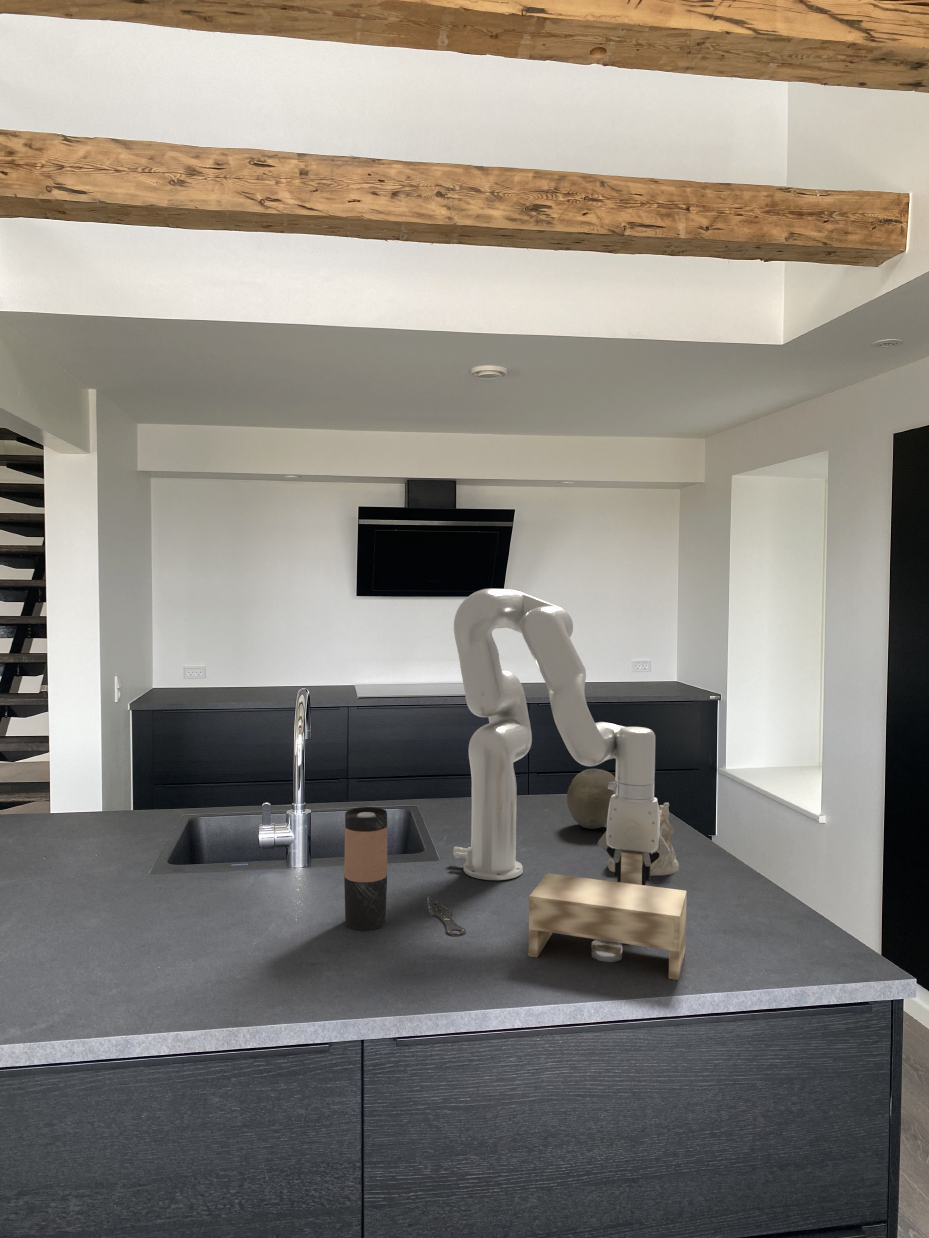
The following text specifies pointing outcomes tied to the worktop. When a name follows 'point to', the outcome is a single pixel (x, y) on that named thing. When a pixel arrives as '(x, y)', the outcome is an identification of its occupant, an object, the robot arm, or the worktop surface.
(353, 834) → the travel mug
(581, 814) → the cantaloupe
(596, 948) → the steel puck
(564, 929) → the oak bench
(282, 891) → the worktop surface
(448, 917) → the throwing knife
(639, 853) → the tan piece
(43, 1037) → the worktop surface
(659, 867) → the ceramic cottage
